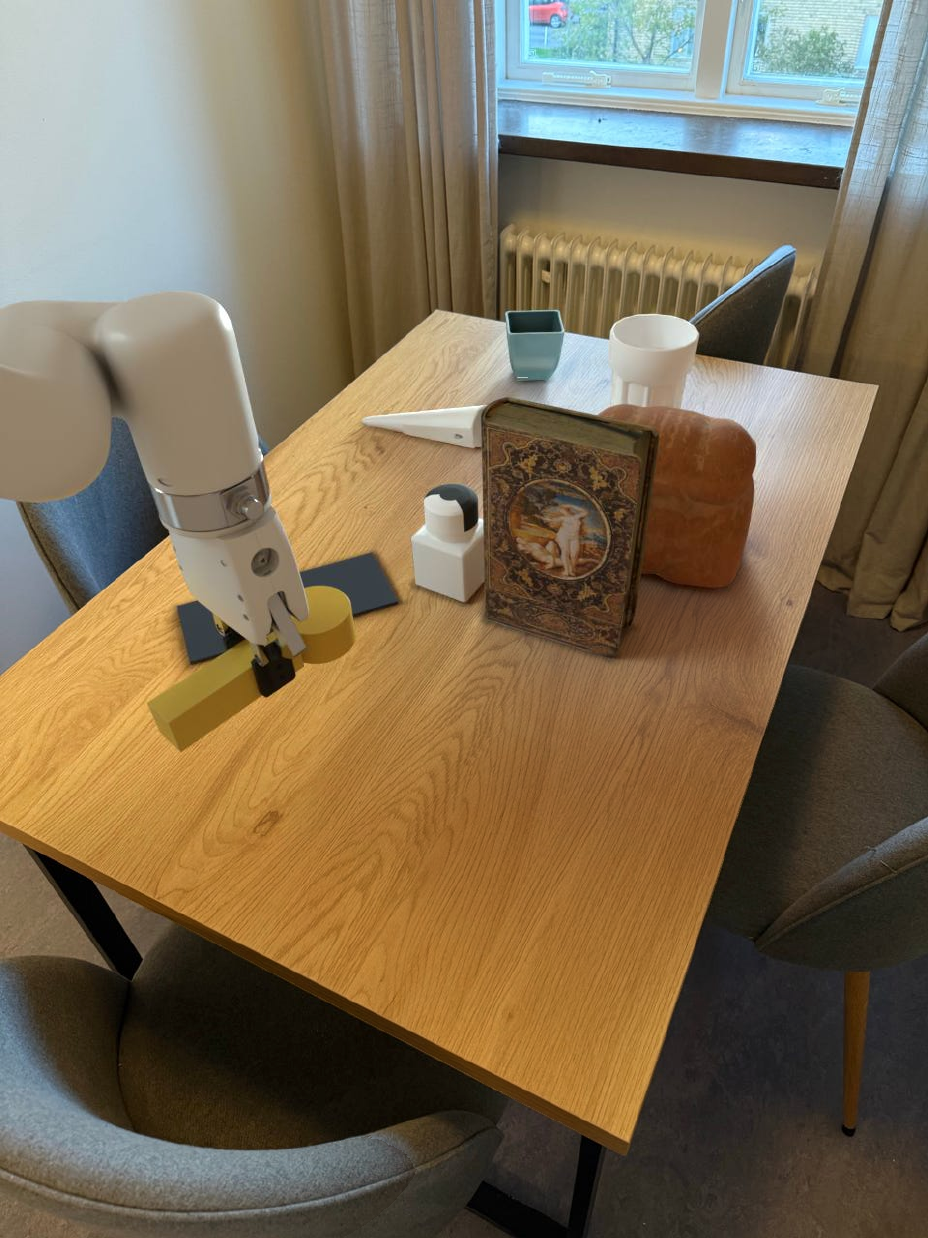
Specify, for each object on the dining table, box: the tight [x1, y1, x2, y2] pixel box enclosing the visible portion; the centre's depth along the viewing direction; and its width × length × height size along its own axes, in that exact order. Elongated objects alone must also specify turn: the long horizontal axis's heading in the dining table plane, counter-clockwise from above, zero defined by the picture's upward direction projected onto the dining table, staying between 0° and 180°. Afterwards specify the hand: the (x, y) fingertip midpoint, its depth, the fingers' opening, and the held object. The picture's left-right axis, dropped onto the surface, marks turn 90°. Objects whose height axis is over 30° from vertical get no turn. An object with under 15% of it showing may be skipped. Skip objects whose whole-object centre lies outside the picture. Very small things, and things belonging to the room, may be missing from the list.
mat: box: [176, 552, 399, 665], centre depth 97 cm, size 24×10×1 cm, turn 112°
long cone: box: [361, 404, 488, 449], centre depth 124 cm, size 6×6×19 cm
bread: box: [597, 404, 757, 589], centre depth 97 cm, size 18×21×17 cm
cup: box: [607, 313, 700, 409], centre depth 113 cm, size 11×11×17 cm
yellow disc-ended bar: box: [146, 586, 357, 753], centre depth 67 cm, size 18×6×4 cm, turn 137°
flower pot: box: [504, 309, 565, 382], centre depth 134 cm, size 9×9×9 cm
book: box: [481, 396, 659, 658], centre depth 85 cm, size 16×6×25 cm, turn 64°
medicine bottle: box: [410, 482, 485, 603], centre depth 96 cm, size 7×7×12 cm
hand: (264, 673), depth 68 cm, fingers closed on yellow disc-ended bar, 3 cm apart
